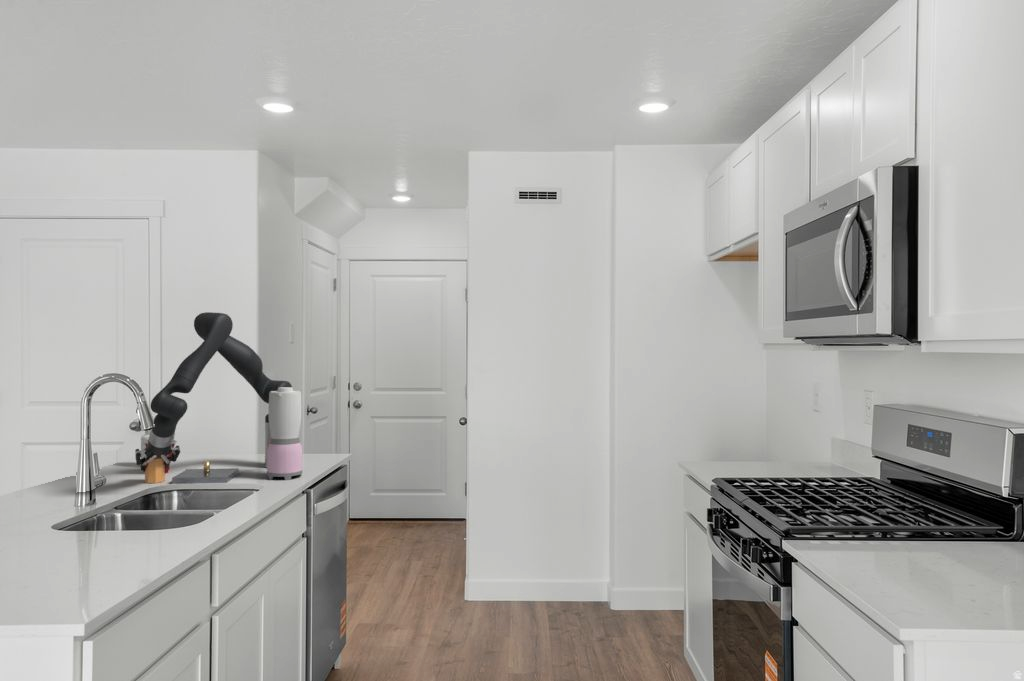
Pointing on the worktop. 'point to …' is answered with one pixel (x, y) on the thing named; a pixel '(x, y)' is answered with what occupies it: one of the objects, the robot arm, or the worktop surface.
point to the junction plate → (205, 475)
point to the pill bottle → (143, 438)
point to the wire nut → (155, 471)
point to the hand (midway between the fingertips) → (153, 468)
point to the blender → (284, 434)
